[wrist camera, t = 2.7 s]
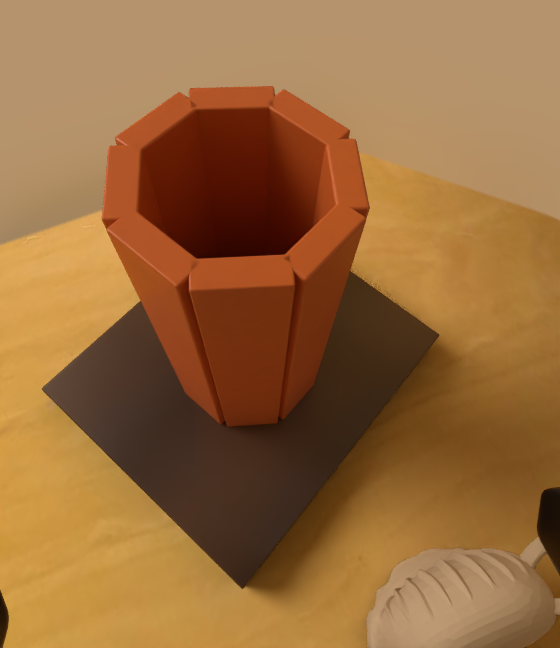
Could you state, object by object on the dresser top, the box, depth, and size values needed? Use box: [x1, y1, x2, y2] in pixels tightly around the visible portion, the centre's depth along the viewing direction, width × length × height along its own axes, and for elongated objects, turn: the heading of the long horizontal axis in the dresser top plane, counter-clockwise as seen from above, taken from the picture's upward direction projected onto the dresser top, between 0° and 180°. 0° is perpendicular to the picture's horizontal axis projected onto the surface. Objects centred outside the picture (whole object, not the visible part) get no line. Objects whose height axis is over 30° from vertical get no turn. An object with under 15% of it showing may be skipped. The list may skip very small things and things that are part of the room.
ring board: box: [42, 271, 439, 589], centre depth 21 cm, size 12×14×6 cm
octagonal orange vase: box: [102, 86, 370, 427], centre depth 16 cm, size 6×6×12 cm
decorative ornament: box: [367, 537, 560, 648], centre depth 17 cm, size 4×8×5 cm, turn 107°
